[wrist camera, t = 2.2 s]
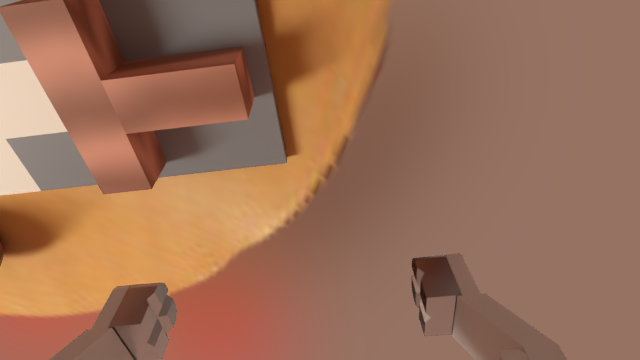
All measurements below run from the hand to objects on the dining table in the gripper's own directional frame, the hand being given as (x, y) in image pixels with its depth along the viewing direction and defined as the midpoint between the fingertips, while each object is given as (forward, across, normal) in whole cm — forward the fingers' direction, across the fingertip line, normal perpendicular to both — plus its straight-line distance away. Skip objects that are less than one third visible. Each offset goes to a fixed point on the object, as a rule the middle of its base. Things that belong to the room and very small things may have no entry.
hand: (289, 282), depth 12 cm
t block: (+20, +10, -1) cm, 23 cm away
